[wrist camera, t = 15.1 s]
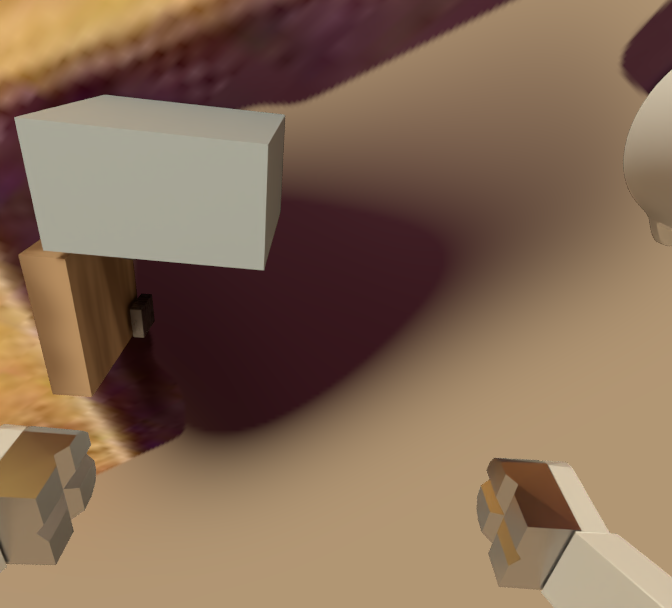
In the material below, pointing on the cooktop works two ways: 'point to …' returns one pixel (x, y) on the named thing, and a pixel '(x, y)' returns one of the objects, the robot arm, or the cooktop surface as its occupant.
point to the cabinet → (155, 180)
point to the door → (79, 314)
